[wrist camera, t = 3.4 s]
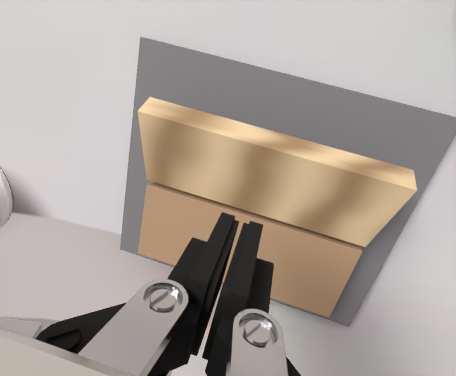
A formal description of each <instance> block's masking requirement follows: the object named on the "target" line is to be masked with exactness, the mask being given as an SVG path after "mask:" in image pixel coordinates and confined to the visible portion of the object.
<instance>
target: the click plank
mask: <svg viewBox="0 0 456 376" xmlns="http://www.w3.org/2000/svg"><path fill="white" fill-rule="evenodd" d="M138 119H139V126H140V133H141V141H142V148H143V156H144V163H145V171H146V178H147V180H149V181H152V182H155V183H159V184H162V185H165V186H168V187H172V188H175V189H178V190H181V191H185V192H188V193H191V194H194V195H198V196H201V197H204V198H207V199H211V200H214V201H217V202H220V203H223V204H227V205H230V206H233V207H236V208H240V209H243V210H246V211H249V212H253V213H256V214H259V215H262V216H266V217H269V218H272V219H275V220H279V221H282V222H285V223H288V224H292V225H295V226H298V227H301V228H305V229H308V230H311V231H314V232H318V233H321V234H324V235H327V236H330V237H334V238H337V239H340V240H343V241H347V242H350V243H353V244H356V245H360V246H363V247H366V246H367V245H368V244H369V243H370V242H371V240H372V239H373V238H374V237H375V236H376V235H377V234H378V233H379V232H380V231H381V229H382V228H383V227H384V226H385V225H386V224H387V223H388V222H389V221H390V220H391V219H392V217H393V216H394V215H395V214H396V213H397V212H398V211H399V210H400V209H401V208H402V207H403V205H404V204H405V203H406V202H407V201H408V200H409V199H410V198H411V197H412V196H413V194H414V193H415V192H416V191H417V186H416V180H415V174H414V170H412V169H408V168H404V167H401V166H397V165H394V164H390V163H386V162H383V161H379V160H376V159H372V158H368V157H365V156H361V155H358V154H354V153H350V152H347V151H343V150H339V149H336V148H332V147H329V146H325V145H321V144H318V143H314V142H311V141H307V140H303V139H300V138H296V137H293V136H289V135H285V134H282V133H278V132H275V131H271V130H267V129H264V128H260V127H257V126H253V125H249V124H246V123H242V122H239V121H235V120H231V119H228V118H224V117H220V116H217V115H213V114H210V113H206V112H202V111H199V110H195V109H192V108H188V107H184V106H181V105H177V104H174V103H170V102H166V101H163V100H159V99H156V98H152V97H149V99H148V100H147V101H146V102H145V103H144V104H143V105H142V106H141V108H140V109H139V110H138Z"/></svg>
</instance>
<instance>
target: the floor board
mask: <svg viewBox="0 0 456 376" xmlns="http://www.w3.org/2000/svg"><path fill="white" fill-rule="evenodd" d="M149 97H152V98H156V99H159V100H163V101H166V102H170V103H174V104H177V105H181V106H184V107H188V108H192V109H195V110H199V111H202V112H206V113H210V114H213V115H217V116H220V117H224V118H228V119H231V120H235V121H239V122H242V123H246V124H249V125H253V126H257V127H260V128H264V129H267V130H271V131H275V132H278V133H282V134H285V135H289V136H293V137H296V138H300V139H303V140H307V141H311V142H314V143H318V144H321V145H325V146H329V147H332V148H336V149H339V150H343V151H347V152H350V153H354V154H358V155H361V156H365V157H368V158H372V159H376V160H379V161H383V162H386V163H390V164H394V165H397V166H401V167H404V168H408V169H412V170H414V174H415V180H416V186H417V191H416V192H415V193H414V194H413V196H412V197H411V198H410V199H409V200H408V201H407V202H406V203H405V204H404V205H403V207H402V208H401V209H400V210H399V211H398V212H397V213H396V214H395V215H394V216H393V217H392V219H391V220H390V221H389V222H388V223H387V224H386V225H385V226H384V227H383V228H382V229H381V231H380V232H379V233H378V234H377V235H376V236H375V237H374V238H373V239H372V240H371V242H370V243H369V244H368V245H367V246H366V247H363V246H360V245H356V244H353V243H350V242H347V241H343V240H340V239H337V238H334V237H330V236H327V235H324V234H321V233H318V232H314V231H311V230H308V229H305V228H301V227H298V226H295V225H292V224H288V223H285V222H282V221H279V220H275V219H272V218H269V217H266V216H262V215H259V214H256V213H253V212H249V211H246V210H243V209H240V208H236V207H233V206H230V205H227V204H223V203H220V202H217V201H214V200H211V199H207V198H204V197H201V196H198V195H194V194H191V193H188V192H185V191H181V190H178V189H175V188H172V187H168V186H165V185H162V184H159V183H155V182H152V181H149V180H147V178H146V171H145V163H144V156H143V148H142V141H141V133H140V126H139V119H138V110H139V109H140V108H141V106H142V105H143V104H144V103H145V102H146V101H147V100H148V99H149ZM455 134H456V117H453V116H449V115H445V114H441V113H437V112H433V111H429V110H425V109H421V108H417V107H413V106H410V105H406V104H402V103H398V102H394V101H390V100H386V99H382V98H378V97H374V96H370V95H367V94H363V93H359V92H355V91H351V90H347V89H343V88H339V87H335V86H331V85H327V84H323V83H320V82H316V81H312V80H308V79H304V78H300V77H296V76H292V75H288V74H284V73H280V72H277V71H273V70H269V69H265V68H261V67H257V66H253V65H249V64H245V63H241V62H237V61H234V60H230V59H226V58H222V57H218V56H214V55H210V54H206V53H202V52H198V51H194V50H191V49H187V48H183V47H179V46H175V45H171V44H167V43H163V42H159V41H155V40H151V39H148V38H143V37H140V47H139V57H138V68H137V78H136V89H135V99H134V110H133V120H132V131H131V141H130V152H129V162H128V173H127V183H126V193H125V204H124V214H123V225H122V235H121V246H120V249H121V250H124V251H127V252H130V253H133V254H136V255H139V256H142V257H145V258H148V259H151V260H154V261H157V262H160V263H163V264H166V265H169V266H172V267H175V265H176V264H177V262H178V260H179V259H180V257H181V255H182V254H183V252H184V250H185V248H186V247H187V245H188V243H189V242H190V240H191V239H192V238H193V237H194V238H197V239H200V240H203V241H206V242H207V241H208V239H209V237H210V235H211V233H212V231H213V229H214V227H215V225H216V223H217V221H218V219H219V217H220V215H221V213H222V212H224V213H227V214H230V215H234V216H235V220H237V221H239V225H238V228H237V232H236V235H235V239H234V242H233V246H232V249H231V253H230V256H229V260H228V264H227V267H226V271H225V274H224V277H223V281H222V284H223V283H224V280H225V277H226V274H227V271H228V268H229V265H230V262H231V259H232V256H233V253H234V250H235V247H236V244H237V241H238V238H239V235H240V232H241V229H242V226H243V223H247V224H249V222H250V221H253V222H256V223H260V224H263V229H262V234H261V239H260V243H259V248H258V253H257V258H259V259H262V260H265V261H269V262H272V263H274V269H273V278H272V287H271V295H270V300H272V301H275V302H278V303H281V304H284V305H287V306H290V307H293V308H296V309H299V310H302V311H305V312H308V313H311V314H314V315H317V316H320V317H323V318H326V319H329V320H332V321H334V322H337V323H340V324H343V325H346V326H349V325H350V323H351V321H352V320H353V318H354V316H355V314H356V312H357V311H358V309H359V307H360V305H361V303H362V301H363V300H364V298H365V296H366V294H367V292H368V291H369V289H370V287H371V285H372V283H373V282H374V280H375V278H376V276H377V274H378V273H379V271H380V269H381V267H382V265H383V264H384V262H385V260H386V258H387V256H388V255H389V253H390V251H391V249H392V247H393V246H394V244H395V242H396V240H397V238H398V237H399V235H400V233H401V231H402V229H403V228H404V226H405V224H406V222H407V220H408V218H409V217H410V215H411V213H412V211H413V209H414V208H415V206H416V204H417V202H418V200H419V199H420V197H421V195H422V193H423V191H424V190H425V188H426V186H427V184H428V182H429V181H430V179H431V177H432V175H433V173H434V172H435V170H436V168H437V166H438V164H439V163H440V161H441V159H442V157H443V155H444V154H445V152H446V150H447V148H448V146H449V145H450V143H451V141H452V139H453V137H454V136H455Z"/></svg>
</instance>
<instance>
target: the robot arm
mask: <svg viewBox="0 0 456 376" xmlns="http://www.w3.org/2000/svg"><path fill="white" fill-rule="evenodd" d="M238 225H239V221H237V220H235V216H234V215H230V214H227V213H224V212H222V213H221V215H220V217H219V219H218V221H217V223H216V225H215V227H214V229H213V231H212V233H211V235H210V237H209V239H208V241H207V242H206V241H203V240H200V239H197V238H194V237H193V238H192V239H191V240H190V242H189V243H188V245H187V247H186V248H185V250H184V252H183V254H182V255H181V257H180V259H179V260H178V262H177V264H176V265H175V267H174V269H173V270H172V272H171V274H170V275H169V277H168V279H157V280H153V281H150V282H148V283H147V284H145V285H144V286H142V288H141V289H140V290H139V291H138V292H137V293H136V294H135V295H134V296H133V297H132V298H131V299H130V300H129V301H128V302H127V303H124V304H120V305H117V306H113V307H109V308H106V309H102V310H99V311H95V312H91V313H88V314H85V315H81V316H77V317H74V318H70V319H67V320H63V321H60V322H57V323H55V324H52V325H50V326H49V327H45V326H42V322H39V321H30V320H22V319H14V318H6V317H0V376H171V373H172V370H173V369H176V368H178V367H180V366H182V365H185V364H187V363H188V361H189V358H190V355H191V354H193V355H195V356H197V354H198V351H199V348H200V346H201V343H202V340H203V337H204V334H205V331H206V328H207V325H208V322H209V319H210V316H211V313H212V310H213V307H214V304H215V301H216V298H217V295H218V292H219V290H220V287H221V284H222V281H223V277H224V274H225V271H226V267H227V264H228V260H229V256H230V253H231V249H232V246H233V242H234V239H235V235H236V232H237V228H238ZM262 229H263V224H260V223H256V222H253V221H250V222H249V224H247V223H243V226H242V229H241V232H240V235H239V238H238V241H237V244H236V247H235V250H234V253H233V256H232V259H231V262H230V265H229V268H228V271H227V274H226V277H225V280H224V283H223V286H222V290H221V293H220V296H219V300H218V303H217V307H216V310H215V314H214V317H213V321H212V324H211V328H210V331H209V335H208V338H207V342H206V345H205V349H204V352H203V356H202V358H204V359H206V360H208V363H207V366H206V370H205V372H206V374H207V376H301V375H300V374H299V373H298V371H297V370H296V369H295V367H294V366H293V365H292V363H291V362H290V361H289V359H288V358H287V357H286V354H285V345H284V337H283V332H282V329H281V327H280V325H279V323H278V322H277V321H276V320H275V319H274V318H273V317H272V316H271V315H269V314H268V313H269V304H270V295H271V287H272V278H273V269H274V263H272V262H269V261H265V260H262V259H259V258H257V253H258V248H259V243H260V239H261V234H262Z"/></svg>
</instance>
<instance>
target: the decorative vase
mask: <svg viewBox="0 0 456 376" xmlns="http://www.w3.org/2000/svg"><path fill="white" fill-rule="evenodd" d="M12 207H13V199H12V193H11V189H10V186H9V183H8V181H7V178H6V176H5V175H4V173H3V171H2V169H1V168H0V227H1V226H3V225H4V224H5V223H6V222H7V221H8V220H9V218H10V216H11V213H12Z"/></svg>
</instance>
